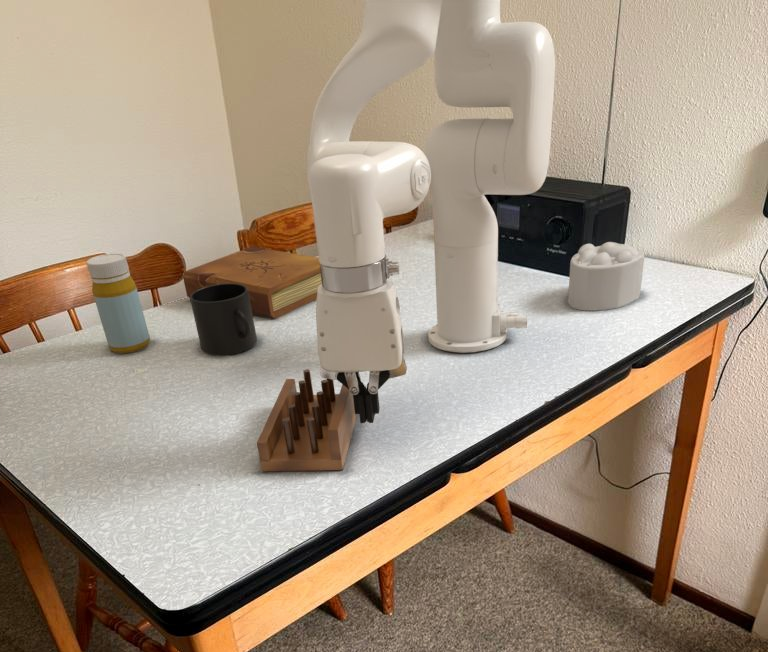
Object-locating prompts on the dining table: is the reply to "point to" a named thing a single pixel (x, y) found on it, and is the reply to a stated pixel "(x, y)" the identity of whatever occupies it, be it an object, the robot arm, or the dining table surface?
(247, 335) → the mug
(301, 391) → the rack
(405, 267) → the dining table surface
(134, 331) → the bottle
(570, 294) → the lumpy-topped squat cylinder
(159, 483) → the dining table surface
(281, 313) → the diary
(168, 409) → the dining table surface
